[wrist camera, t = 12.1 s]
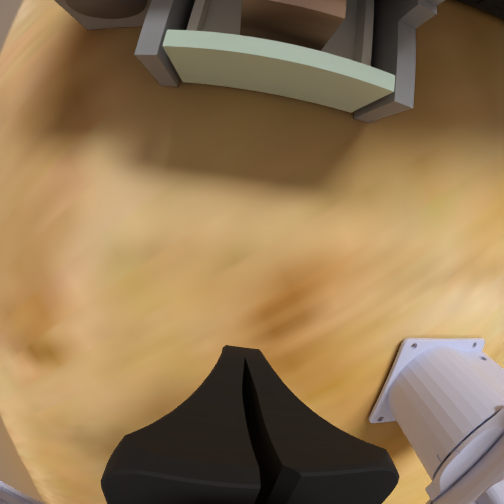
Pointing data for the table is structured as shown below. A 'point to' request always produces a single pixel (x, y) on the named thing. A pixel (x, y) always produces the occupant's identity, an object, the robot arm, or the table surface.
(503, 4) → the radio cassette player
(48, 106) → the table surface
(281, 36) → the walnut block
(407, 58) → the box
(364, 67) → the drawer
